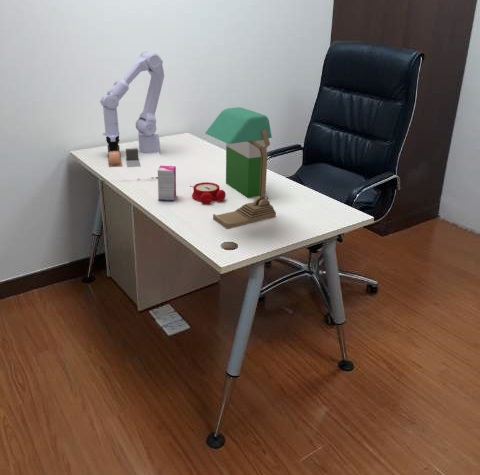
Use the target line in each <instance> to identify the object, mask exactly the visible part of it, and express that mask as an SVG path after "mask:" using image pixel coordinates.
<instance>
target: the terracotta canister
mask: <svg viewBox="0 0 480 475" xmlns="http://www.w3.org/2000/svg"><path fill="white" fill-rule="evenodd" d="M120 155H121V152H119V151H110V152H109V160H110V165H120V164H121V163H120Z"/></svg>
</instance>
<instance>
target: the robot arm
mask: <svg viewBox="0 0 480 475" xmlns="http://www.w3.org/2000/svg"><path fill="white" fill-rule="evenodd" d="M163 63H164V61H163V59H162V58H161V56H160V55H159V54H157V53H153V52H148V51H143V52H141V54H140V55H139V56H138V57H137V58H136V59H135V61H134V63H133V64H132V65H131V67H130V69H128V71H127V72H126V73H125V75H124V77H123V78H122V79H117V80H115V81H113V85H112V86H111V88H110V89H109V90H107V91H106V93H105V94H103V95H102V96H101V97H100V100H99V102H100V105H101V106H102V109H103V120H104V121H103V123H104V131H105V132H102V136H105V141H106V143H107V146H108V145H109V147H110V151H117V147H118V145H119V143H120V129H119V118H118V117H119V116H118V108H117V107H119V104H120V100H121V99H122V98H123V97H124V96H125V95H126V93H127V92H128V90H129V88H130V87H129V86H130V84H131V83H132V82H133V80H135V79H136V78H137V77H138V75H139V74H140V73H141V72H146V71H147V72H148V74H149V75H150V80H149V85H148V88H147V89H148V90H147V93H146V98H145V101H144V105H143V110H142V112H141V113H140V114H139V116H138V119H137V120H136V122H135V128H136V130H137V131H138V134H137V136H138V137H137V138H138V152H140V153H143V154H153V153H158V154H159V155H161V146H160V145H161V144H160V135H159V134H157V133H156V131H157V125H156V124H157V118H156V111H157V107H158V103H159V99H160V96H161V91H162V87H163V84H164V80H165V73H164V72H165V71H164V67H163Z"/></svg>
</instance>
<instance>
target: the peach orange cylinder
mask: <svg viewBox="0 0 480 475" xmlns="http://www.w3.org/2000/svg"><path fill="white" fill-rule="evenodd" d="M120 150H121V149H120V144H118V147H117V151H119V152H120ZM109 152H110V147H109V145H108V144H107V161H108V162H107V163H108V164H107V165H108V168H119V167H121V168H122V167H123V163H122V162H123V160H122V156H121V154H120V163H121V164H120V165H110V160H109ZM120 153H121V152H120Z"/></svg>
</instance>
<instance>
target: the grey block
mask: <svg viewBox="0 0 480 475" xmlns="http://www.w3.org/2000/svg"><path fill="white" fill-rule="evenodd" d="M125 155H126V157H125V161H126V162H125V163H126V167H127V168H136V167H138V168H140V167H141V162H140V158H139V148H126V149H125Z"/></svg>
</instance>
